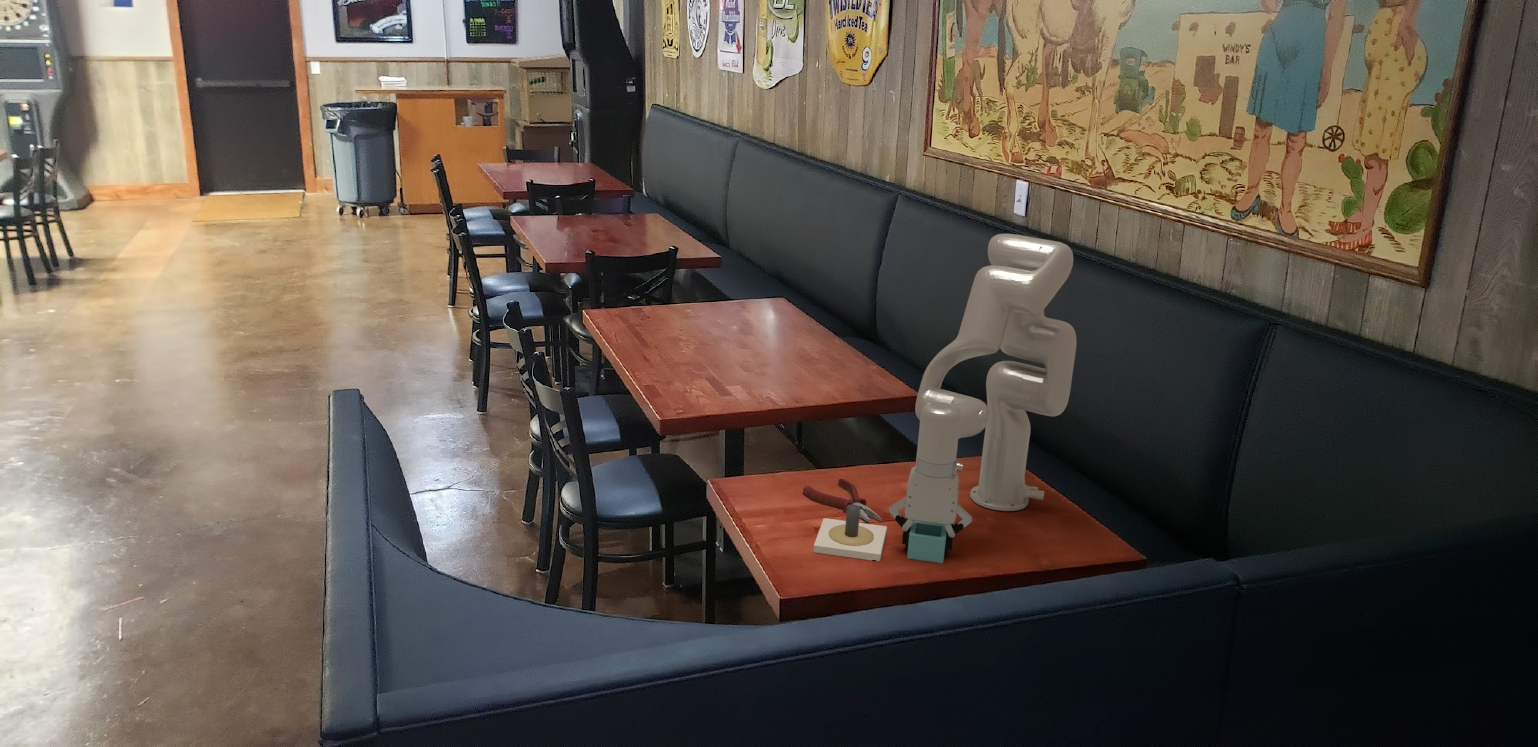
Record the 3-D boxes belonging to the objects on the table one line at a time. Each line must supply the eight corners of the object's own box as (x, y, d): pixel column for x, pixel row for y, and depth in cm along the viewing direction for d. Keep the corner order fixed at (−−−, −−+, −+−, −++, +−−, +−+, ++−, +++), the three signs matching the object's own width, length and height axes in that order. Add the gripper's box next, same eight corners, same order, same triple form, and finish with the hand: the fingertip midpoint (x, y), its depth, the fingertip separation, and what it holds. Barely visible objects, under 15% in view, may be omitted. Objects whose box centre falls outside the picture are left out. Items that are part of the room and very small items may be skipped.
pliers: (854, 531, 232) (855, 519, 231) (800, 495, 248) (801, 484, 247) (898, 521, 238) (899, 510, 237) (842, 486, 254) (843, 475, 253)
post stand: (886, 533, 231) (889, 498, 229) (879, 561, 219) (883, 525, 216) (823, 524, 233) (825, 490, 231) (813, 552, 221) (815, 516, 219)
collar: (944, 547, 226) (947, 524, 225) (943, 563, 220) (945, 539, 218) (909, 542, 227) (912, 520, 226) (906, 558, 221) (909, 534, 219)
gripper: (981, 464, 220) (971, 547, 225) (892, 453, 223) (884, 535, 228) (980, 479, 213) (970, 564, 218) (888, 467, 216) (880, 552, 221)
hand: (926, 549), depth 223 cm, fingers closed on collar, 7 cm apart
